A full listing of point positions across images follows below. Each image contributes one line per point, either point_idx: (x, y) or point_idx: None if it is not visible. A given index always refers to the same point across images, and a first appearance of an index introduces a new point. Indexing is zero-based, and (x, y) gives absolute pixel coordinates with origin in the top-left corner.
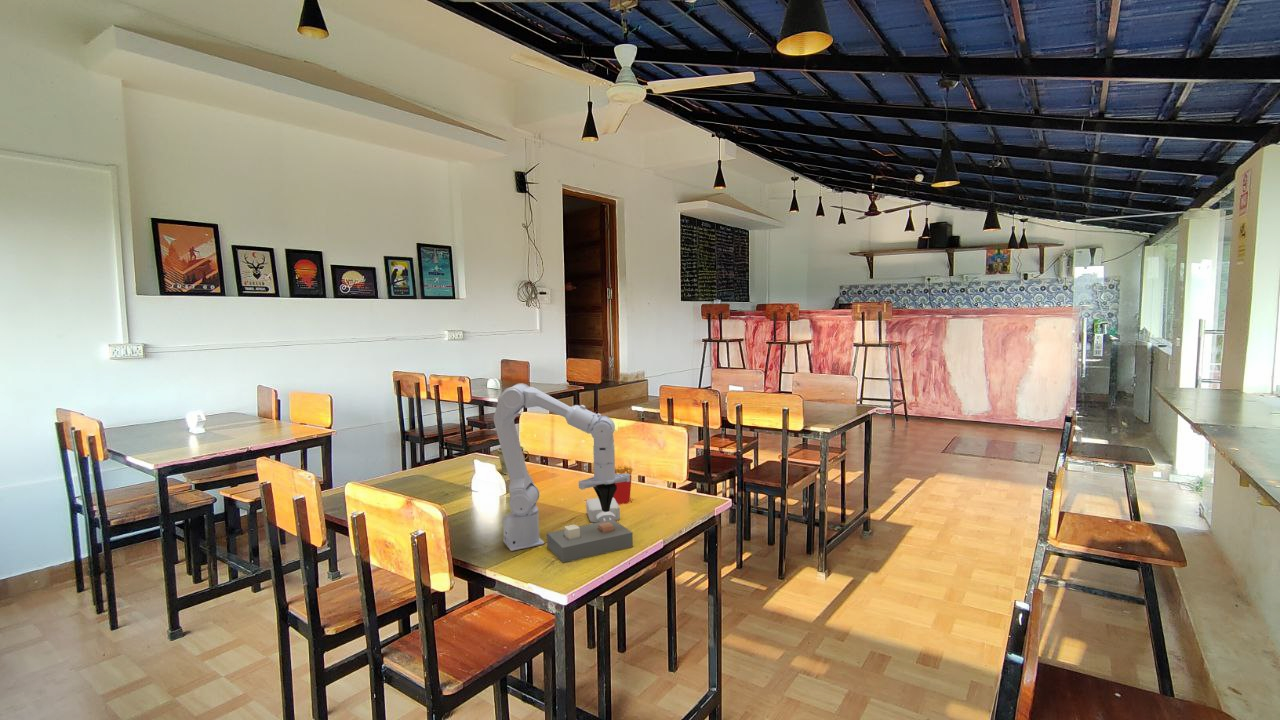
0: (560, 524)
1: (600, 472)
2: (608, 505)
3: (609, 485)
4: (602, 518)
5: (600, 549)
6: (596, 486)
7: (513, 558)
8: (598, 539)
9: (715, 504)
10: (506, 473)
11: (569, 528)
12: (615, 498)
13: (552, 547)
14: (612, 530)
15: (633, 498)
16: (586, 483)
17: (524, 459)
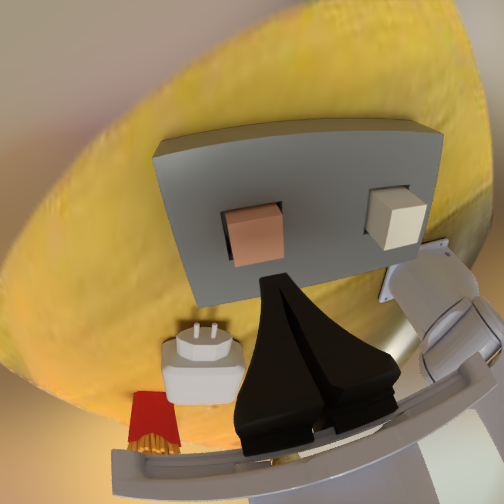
0: None
1: (434, 501)
2: (276, 297)
3: (292, 429)
4: (217, 337)
5: (305, 123)
6: (390, 404)
7: (458, 204)
8: (328, 135)
9: None
10: None
11: (416, 219)
12: (163, 402)
13: None
14: (233, 213)
15: (126, 399)
16: (477, 391)
17: (272, 458)
